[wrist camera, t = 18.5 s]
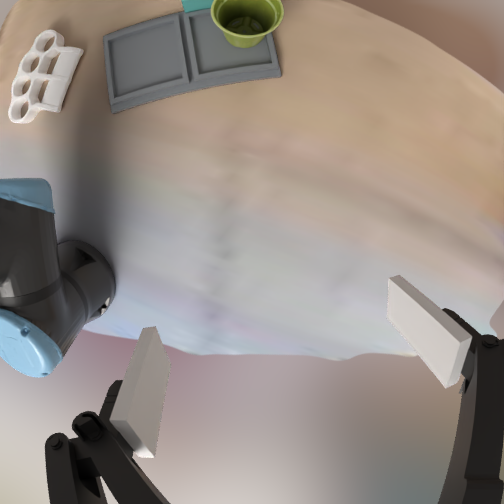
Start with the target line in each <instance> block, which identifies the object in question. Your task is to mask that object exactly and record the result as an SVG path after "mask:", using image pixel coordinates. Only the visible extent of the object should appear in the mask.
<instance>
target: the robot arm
mask: <svg viewBox="0 0 504 504" xmlns="http://www.w3.org/2000/svg"><path fill="white" fill-rule="evenodd" d="M54 214H55V210H54V209H53V200H52V190H51V186H50V184H49V183H48V182H47V181H46V180H45V179H42V178H12V179H0V357H1V358H2V359H3V360H4V361H5V362H7V363H8V364H9V365H10V366H12V367H13V368H14V369H16V370H17V371H19V372H21V373H23V374H26V375H28V376H31V377H45V376H47V375H49V374H50V373H51V372H52V371H53V370H54V368H55V367H56V366H57V365H58V364H59V363H60V362H61V361H62V359H63V357H64V355H65V354H66V352H67V350H68V349H69V347H70V346H71V344H72V343H73V341H74V340H75V338H76V337H77V335H78V333H79V332H80V330H81V329H82V327H83V326H84V325H85V324H87V323H89V322H91V321H93V320H95V319H97V318H99V317H100V316H101V315H103V314H104V313H105V312H106V310H107V309H108V307H109V306H110V304H111V303H112V301H113V298H114V294H115V280H114V276H113V273H112V270H111V268H110V266H109V264H108V262H107V261H106V259H105V258H104V257H103V256H102V255H101V253H100V252H98V251H97V250H96V249H95V248H94V247H92V246H90V245H89V244H87V243H84V242H81V241H74V240H72V241H66V242H63V243H61V244H59V245H58V246H57V239H56V230H55V220H54ZM387 319H388V320H389V321H390V323H391V324H392V325H393V326H394V327H395V328H396V329H397V331H398V332H399V333H400V334H401V335H402V336H403V338H404V339H405V340H406V341H407V342H408V343H409V345H410V346H411V347H412V348H413V349H414V350H415V352H416V353H417V354H418V355H419V356H420V358H421V359H422V360H423V361H424V362H425V364H426V365H427V366H428V367H429V368H430V369H431V371H432V372H433V373H434V374H435V376H436V377H437V378H438V379H439V381H440V382H441V383H442V384H443V385H444V387H445V388H448V387H450V386H451V385H453V384H455V383H457V382H458V380H459V377H460V374H461V373H462V375H463V376H464V377H465V379H464V382H463V384H462V387H461V389H460V392H459V393H461V392H462V399H461V407H460V414H459V420H458V427H457V432H456V437H455V442H454V448H453V452H452V456H451V460H450V465H449V468H448V472H447V476H446V479H445V483H444V486H443V489H442V492H441V496H440V499H439V502H438V504H501V499H502V494H503V489H504V483H503V481H502V480H500V479H499V473H500V466H501V458H502V448H503V437H504V339H502V340H499V339H498V338H497V337H495V336H493V335H489V334H487V335H481V334H480V333H478V332H477V331H476V330H475V329H474V328H473V327H472V326H470V325H469V324H468V323H467V322H465V320H463V319H462V318H460V316H459V315H457V314H456V313H455V312H454V311H451V310H449V309H447V308H444V309H440V308H439V307H438V306H437V305H436V304H434V303H433V302H432V301H431V300H430V299H429V298H427V297H426V296H425V295H424V294H422V293H421V292H420V291H419V290H418V289H416V288H415V287H414V286H413V285H411V284H410V283H409V282H408V281H406V280H405V279H404V278H403V277H401V276H400V275H398V276H394V277H391V278H389V281H388V305H387ZM170 368H171V363H170V360H169V358H168V356H167V353H166V351H165V349H164V346H163V344H162V341H161V339H160V336H159V334H158V331H157V329H156V326H155V327H148V328H143V329H142V332H141V334H140V337H139V340H138V342H137V345H136V347H135V350H134V353H133V355H132V358H131V360H130V363H129V366H128V368H127V371H126V374H125V377H124V379H123V380H116V381H115V382H114V383H113V384H112V385H111V386H110V388H109V390H108V393H107V397H106V398H105V400H104V403H103V406H102V409H101V411H100V414H99V416H98V415H97V414H96V413H95V412H91V411H86V412H83V413H81V414H79V415H78V416H76V418H75V419H74V420H73V423H72V429H73V431H74V432H75V433H76V434H77V435H78V438H73V439H68V437H67V436H66V435H64V434H63V433H55V434H53V435H51V436H50V437H49V438H48V439H47V441H46V443H45V459H46V472H47V483H48V491H49V499H50V504H108V503H107V500H106V497H105V493H104V490H103V486H102V483H101V479H100V476H102V478H103V480H104V481H105V483H106V484H107V486H108V488H109V490H110V491H111V493H112V494H113V496H114V497H115V499H116V500H117V502H118V503H119V504H170V503H169V502H168V501H167V499H166V498H165V497H164V496H163V495H162V494H161V493H160V492H159V490H158V489H157V488H156V487H155V486H154V484H153V483H152V482H151V481H150V479H149V478H148V477H147V476H146V475H145V473H144V472H143V471H142V469H141V468H140V467H139V466H138V464H137V463H136V462H135V460H134V459H133V458H132V456H133V451H134V452H135V453H136V454H137V455H138V456H139V457H147V458H149V457H150V458H155V454H156V447H157V441H158V435H159V428H160V422H161V416H162V411H163V405H164V400H165V394H166V389H167V383H168V378H169V373H170Z"/></svg>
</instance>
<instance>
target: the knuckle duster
mask: <svg viewBox="0 0 504 504" xmlns="http://www.w3.org/2000/svg"><path fill="white" fill-rule="evenodd" d="M53 37H55V40H54V43H53V45H52V46H51V47H50V49H48V50H47V51H45V52H44V47H45V44H46V43H47V41H48V40H49V39H51V38H53ZM59 53H60V55H59V57H58V60H57V62H56V64H55V67H54V69H53V72H52V74H47V70H48V68H49V65H50V63H51V61H52V59H53V58H54V57H56V56H57V55H58V54H59ZM81 55H83V50H82V49H80V48H75V47H64V37H63V36H62V35H61V34H59V33H58V32H56V31H54V30H46V31H44V32H42V33H40V34H39V35H38V36H37V37H36V38H35V41H34V44H33V46H32V48H31V49H30V51H29V52H28V53H27V54H26V55H25V56H24V57H23V59H22V61H21V62H20V64H19V69H18V73H17V75H16V77H15V79H14V81H13V82H12V88H11V94H12V101H11V105H10V108H9V110H8V114H9V118H10V120H11V121H12V122H14V123H29V122H31V121H32V120H33V119H34V118H35V117H36V116H37V114H38V112H39V111H40V110H47V111H52V112H58V113H59V112H60V111H61V108H62V107H61V106H62V103H63V100H64V97H65V94H66V92H67V89H68V86H69V84H70V83H71V81H72V79H71V78H72V76H73V73H74V71H75V69H76V66H77V64H78V62H79V59H80V57H81ZM37 57H40V60H39V64H38V66H37V67H36V69H35V70H34V71H33V72H31V65H32V63H33V61H34V60H35V59H36V58H37ZM30 79H31V84H30V87H29V89H28V91H27V92H26V93H25V94H24V95H22V89H23V86H24V84H25V83H26V82H27V81H28V80H30ZM45 80H49V82H48V85H47V88H46V91H45V93H44V96H43V99H42V102H41V103H40V102H39V99H38V95H39V92H40V89H41V86H42V84H43V82H44V81H45ZM26 101H28V102H29V107H28V111H27V113H26V115H25V116H24V117H23V118H22V117H21V114H20V112H21V108H22V106H23V104H24V103H25V102H26Z"/></svg>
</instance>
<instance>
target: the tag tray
mask: <svg viewBox="0 0 504 504" xmlns="http://www.w3.org/2000/svg"><path fill="white" fill-rule="evenodd" d="M181 1H182V4H183V8H184V11H183V12H178V13H174V14H170V15H166V16H162V17H159V18H155V19H152V20H148V21H145V22H142V23H139V24H135V25H132V26H129V27H126V28H124V29H121V30H118V31H115V32H113V33H110V34H107V35H105V36H103V44H104V56H105V67H106V76H107V85H108V93H109V100H110V106H111V112H112V114H115V113H118V112H121V111H124V110H127V109H130V108H133V107H136V106H139V105H143V104H146V103H149V102H153V101H156V100H160V99H164V98H167V97H171V96H175V95H179V94H184V93H188V92H192V91H197V90H201V89H206V88H211V87H216V86H222V85H228V84H233V83H240V82H246V81H253V80H261V79H269V78H279V77H281V71H280V67H279V62H278V57H277V53H276V49H275V44H274V40H273V36H272V32H270V33H268V34H266V35H265V37H264V38H263V39H262V41H261V42H260V43H259V44H257V45H256V46H254V47H250V48H240V47H235V46H233V45H232V44H230V43H229V42H228V41H227V40H226V38H225V35H224V33H223V31H222V30H221V29H220V28H219V27H218V26H217V25H216V24H215V23H214V21H213V19H212V16H211V6H212V3H213V1H214V0H181ZM238 22H240V21H236V22H234V23H233V24H232V25H234V24H236V23H238ZM253 24H254V25H255V26H256V27H257V29H259V26H258V25H257V24H256V23H253ZM243 33H246V31H245V30H244V31H243Z"/></svg>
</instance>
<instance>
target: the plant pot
mask: <svg viewBox="0 0 504 504" xmlns="http://www.w3.org/2000/svg"><path fill="white" fill-rule="evenodd" d="M283 15H284V9H283V5H282V2H281V1H280V0H214V1H213V3H212V6H211V16H212V19H213V21H214V23H215V24H216V25H217V26H218V27H219V28H220V29H221V30H222V31H223V33H224V35H225V38H226V40H227V41H228V42H229V43H230V44H232V45H233V46H235V47H240V48H250V47H254V46H256V45H257V44H259V43H260V42H261V41H262V39H263V38H264V37H265V35H266V34H268V33H270V32H272V31H273V30H275V29H276V28H277V27H278V26H279V24H280V23H281V21H282V19H283ZM236 21H240V22H238V23H236V24H234V25H232V24H233V23H234V22H236ZM253 23H256V24H257V25H258V26H259V29H257V27H256V26H255V25H254V24H253ZM244 30H245V31H246V33H243V31H244Z"/></svg>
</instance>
